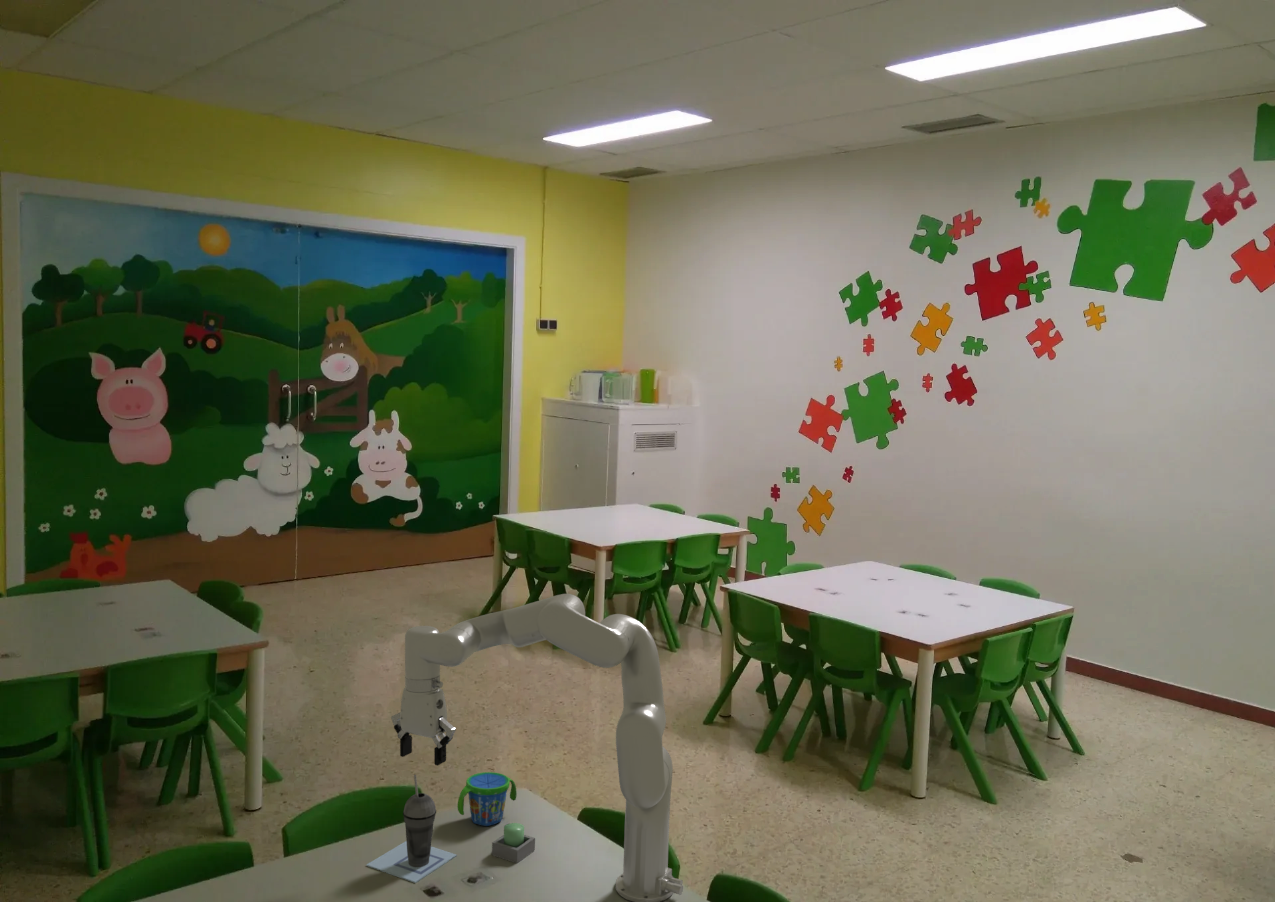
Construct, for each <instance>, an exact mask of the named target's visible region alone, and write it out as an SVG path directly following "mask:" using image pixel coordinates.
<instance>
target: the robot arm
mask: <svg viewBox="0 0 1275 902" xmlns="http://www.w3.org/2000/svg"><path fill="white" fill-rule="evenodd" d="M404 634H405V635H404V674H405V675H404V686H405V687H403V689H402V695H401V700H400V701H401V702H400V712H398V713H395V714H393V715H391V717H390V719H391V721H392V724H393V729H394V731H395V732H396V734H397V735H396V736H397V738H398V739H399V746H400V748H399V754H400V755H399V756H400V757H401V758H404V757H406V756H408V755H410V754H411V753H412V752H413V738H412V737H413V735H416V736H420V737H424V738H430V739H432V741H433V742H434V744H435V747H434V750H433V752H434V753H433V754H434V755H433V757H434V765H435V766H439V765H442V764H443V763H445V762H447V745H449V743H450V742H451V741H452V740H453V737H454V735H455V733H456V727H455V726H453V724H451V723H450V722H449V721H448V710H447V702H446V697H445V692H444V689H443V688H442V687H443V686H444V682H443V681H441V666H444V667H458V666H460V665H462V664H463V663H464V662H465V661H466V660H467V659H469V658H470V657H471V656H472V655H473V654H474V653H476V652H479V651H482V650H483V651H484V650H485V649H489V648H493V647H497V646H501V645H511V646H513V647H515V648H524V647H526V646H527V647H528V646H531V645H534V644H536V643H540V642H543V641H547V642H549V643H550V644H552V645H554V646H556V647H557V648H559V649H560V650H563V651H565V652H567V653H569V654H571V655H573V656H575V657H577V658H579V659H581V660H583V661H585V662H587V663H589V664H591V665H593V666H596V667H599V668H603V669H604V668H606V669H609V668H613V667H616V666H618V665H620V666H621V672H620V673H621V687H622V697H623V699H622V700H623V701H622V702H623V708H622V713H621V715H620V717H619V719H618V721H617V725H616V730H615V744H616V745H615V746H616V759H617V771H618V780H619V781H618V783H619V787H620V792H621V794H622V796H623V797H624V799H625V815H624V839H623V840H624V841H623V864H622V865H623V866H622V867H623V868H622V870H623V871H622V873H621V874H620V875H619V876H617V878H616V879H615V890H616V892H617V894H618V895H620V897H622V898H623V899H625V900H628V901H630V902H662V901H665V900H667V899H668V898H671V896H672V895H673V894H676V895H679V896H681V895H682V894H683V892H684V885H683V883H684V881H683V880H682V879H679V878H675V877H674V875H672V874H673V869H672V868H670V867H668V866H669V865H668V864H669V842H670V841H669V837H670V817H671V798H672V797H671V796H672V795H671V793H672V784H673V783H672V782H673V771H674V769H673V760H672V757H671V754H670V753H669V751H668V750H667V749H666V747H664V746H663V735H664V733H665V729H666V725H667V714H666V708H665V699H664V689H663V687H664V686H663V681H662V674H661V673H662V672H661V663H660V656H659V655H660V654H659V651H658V647H657V644H656V642H655V639H654V637H653V635H652V634H651V632H650V630H649V629H648V628H647V627H646V626H645V625H644V624H643V623H642V622H641V621H639V620H638V619H636V618H634V617H632V616H629V615H626V614H623V613H622V614H621V613H615V614H610V615H608V616H607V617H605V618H603V619H602V620H601V621H600V622H598V621H596V620H594V619H592V618H589V617H588V616H586V608H585V605H584V603H583V601H582V600H581V598H579V596H577V595H575V594H572V593H562V594H557V595H554V596H550V597H547V598H543V599H540V600H537V601H534V602H530V603H527V604H523V605H520V606H516V607H513V608H507V609H504V610H499V611H494V612H490V613H486V614H483V615H479V616H476V617H473V618H470V619H467V620H462V621H461V622H458V623H456V624H455V625H453V626H451V627H450V628H449V629H447V630H445V631H443V632H440V631H439V629H438V628H436V627H434V626H432V625H416V626H413V627H410V628H409V629H406V631H405V633H404Z"/></svg>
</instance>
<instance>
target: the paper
mask: <svg viewBox="0 0 1275 902" xmlns="http://www.w3.org/2000/svg"><path fill="white" fill-rule="evenodd" d="M457 855H458V854H455V853H453V852H449V851H447V850H443V849H441V848H437V847H434V846H432V845H431V851H430V857H429V863H428V864H427V865H425V866H423V867H412V866H410V865H409V863H408V855H407V841H406V840H405V841H404V842H402V843H401V844H398V845H397V846H395V847H394V848H391V849H390V850H388V851H387V852H385V853H384V854H382V855H380V856H379V857H377V858H375V859H373V860H372V861H370V862H368V863H367V864H365V865H366V867H368V868H371V869H373V870H374V869H375V870H378V871H379V870H380V871H379V872H383V873H385V872H386V873H385V874H389V875H391V876H394V877H398V878H400V879H402V880H405V881H408V882H410V883H414V884H417V883H418V882H419V881H421V880H422V879H424V878H425V877H427V876H428V875H430V874H431V873H433V872H435V871H436V870H438V869H440V868H441V867H442V866H444V865H445V864H446V863H449V862H450V861H452V860H453V859H455V858H456V857H457ZM449 860H450V861H449Z"/></svg>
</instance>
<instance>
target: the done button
mask: <svg viewBox="0 0 1275 902" xmlns="http://www.w3.org/2000/svg"><path fill="white" fill-rule="evenodd" d="M503 835H504V844H505V845H508V846H512V847H515V848H517V847H519V846H520V845H522V844H523V843H524V835H525V825H523V824H522V823H518V822H511V823H508V824H506V825H504V827H503Z"/></svg>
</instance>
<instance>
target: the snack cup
mask: <svg viewBox="0 0 1275 902" xmlns="http://www.w3.org/2000/svg"><path fill="white" fill-rule="evenodd" d="M465 783H466V784H465V786H464V787H463V788H462V790H461V791H460V794H459V796H458V800H457V806H456V807H457V811H458V813H459V814H460V815H461V816H464V815H465V811H464V807H465V797H466V796H467V795H468V803H469V812H470V817H471V821H472V823H473V824H476V825H479V826H484V827H489V826H493V825H496V824H498V823H501V821H502V819H503V816H504V810H505V807H506V801H507V792H508V790H509V788H510V792H509V799H511V801H516V800H517V794H518V793H517V785H516V783H515V781H514V780H513V779H511V777H508V776H507V775H505V774H503V773H499V772H494V771H491V772H490V771H487V772H486V771H485V772H477V773H474V774H472V775H470V776H469V777H467V779H466V781H465ZM510 785H511V787H510Z"/></svg>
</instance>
